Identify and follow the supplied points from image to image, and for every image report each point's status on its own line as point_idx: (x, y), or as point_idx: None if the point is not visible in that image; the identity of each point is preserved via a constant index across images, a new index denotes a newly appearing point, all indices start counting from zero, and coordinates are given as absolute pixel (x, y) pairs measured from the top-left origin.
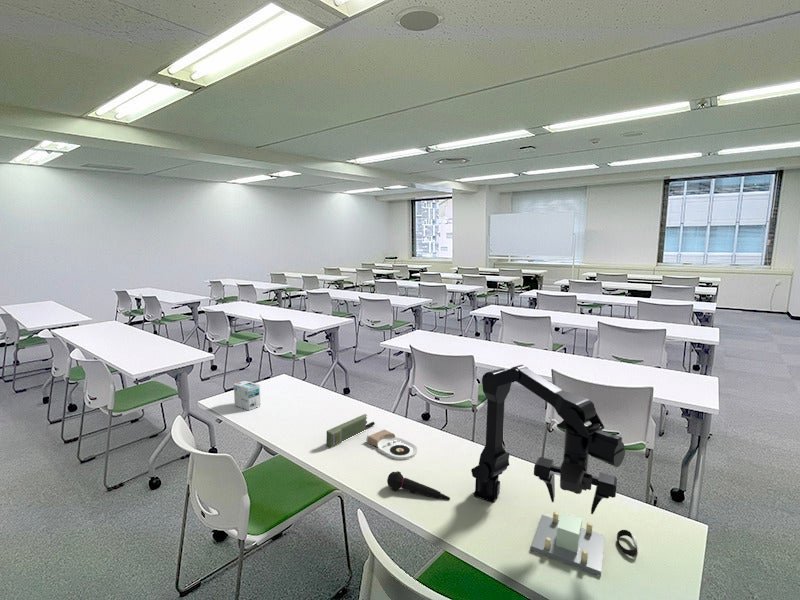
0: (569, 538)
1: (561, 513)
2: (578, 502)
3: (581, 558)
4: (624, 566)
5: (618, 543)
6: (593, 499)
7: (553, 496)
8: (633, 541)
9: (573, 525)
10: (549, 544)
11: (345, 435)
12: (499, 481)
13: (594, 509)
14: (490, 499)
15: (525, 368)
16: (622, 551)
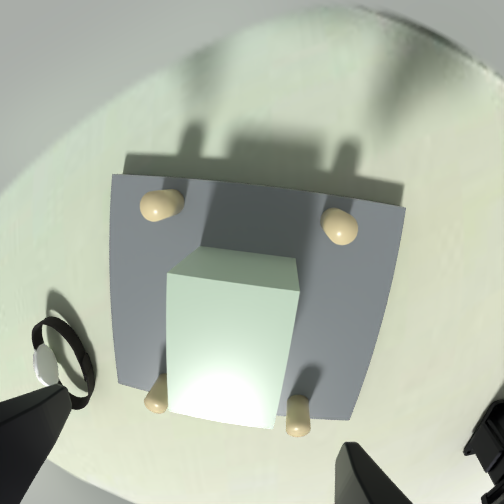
0: (227, 266)
1: (274, 417)
2: (221, 494)
3: (177, 197)
4: (63, 264)
5: (82, 357)
6: (15, 465)
7: (356, 481)
8: (48, 367)
9: (203, 345)
10: (330, 213)
11: None
12: (487, 470)
13: (20, 397)
14: (501, 406)
15: None
16: (76, 334)
